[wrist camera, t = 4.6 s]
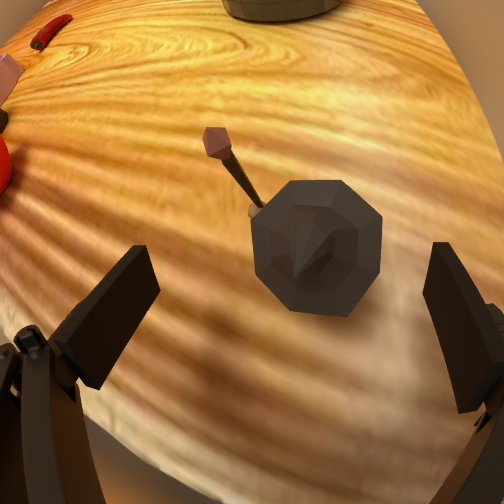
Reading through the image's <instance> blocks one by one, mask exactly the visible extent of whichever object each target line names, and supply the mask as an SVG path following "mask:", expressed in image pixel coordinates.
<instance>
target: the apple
mask: <svg viewBox="0 0 504 504" xmlns="http://www.w3.org/2000/svg"><path fill="white" fill-rule="evenodd" d="M11 176H12V162H11V159H10V155H9V152H8V149H7V146H6V144H5V142H4V140H3V138H2V136H1V133H0V194H1V193H2V192H3V191H4V190H5V188H6V187H7V185H8V183H9V181H10V179H11Z"/></svg>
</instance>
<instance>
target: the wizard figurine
mask: <svg viewBox="0 0 504 504" xmlns="http://www.w3.org/2000/svg"><path fill="white" fill-rule="evenodd" d="M203 142H204V146H205V149H206V153H207V156H209V157H213V158H217V159H221V160H222V163H223V165H224V166H225V167H226V169H227V170H228V171H229V172H230V174H231V175H232V176H233V177H234V178H235V180H236V181H237V182H238V183H239V185H240V186H241V187H242V188H243V190H244V191H245V192H246V193H247V195H248V196H249V197H250V198H251V200H252V201H253V203H252V204H251V205H250V206H249V211H248V216H249V217H250V218H251V220H250V221H251V231H252V242H253V252H254V263H255V273H256V276H257V277H258V278H259V279H260V280H261V281H262V282H263V283H264V284H265V285H266V286H267V287H268V288H269V289H270V290H271V292H272V293H273V294H274V295H275V296H276V297H277V298H278V299H279V300H280V301H281V302H282V303H283V304H284V305H285V306H286V307H287V308H288V309H289V310H290V311H294V312H303V313H312V314H321V315H331V316H341V317H347V316H348V315H349V314H350V312H351V311H352V310H353V309H354V307H355V306H356V305H357V303H358V302H359V301H360V299H361V298H362V296H363V295H364V294H365V292H366V291H367V290H368V288H369V287H370V285H371V284H372V283H373V281H374V280H375V278H376V277H377V276H378V274H379V273H380V259H381V242H382V216H381V215H380V214H379V213H378V212H377V211H376V210H375V209H374V208H372V207H371V206H370V205H369V204H368V203H367V202H366V201H365V200H364V199H362V198H361V197H360V196H359V195H358V194H357V193H356V192H355V191H353V190H352V189H351V188H350V187H349V186H348V185H346V184H345V183H344V182H343V181H342V180H297V181H289V182H288V183H287V184H286V185H285V186H284V187H283V188H282V189H281V190H280V191H279V192H278V193H277V194H276V195H275V196H274V197H273V198H272V199H271V200H270V201H269V202H268V203H267V204H266V203H265V202H263V201H261V200H260V198H259V196H258V194H257V193H256V191H255V189H254V188H253V186H252V184H251V182H250V181H249V179H248V177H247V176H246V174H245V172H244V170H243V169H242V167H241V165H240V164H239V162H238V160H237V159H236V157H235V155H234V154H233V152H232V150H231V142H230V139H229V137H228V134H227V132H226V129H225V128H218V127H206V130H205V133H204V136H203Z"/></svg>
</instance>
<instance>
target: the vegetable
mask: <svg viewBox="0 0 504 504" xmlns="http://www.w3.org/2000/svg"><path fill="white" fill-rule="evenodd" d="M71 19H72V15H68V14H65V15H61V16H59V17H57V18H55V19H53V20H52V21H51V22H49V23H48V24H47V25H46V26H45V27H44V28H42V29H41V30H40V31H39V32H38V33H37V35H36V36H35V37H34V38H33V39H32V41H31V43H30V46H31V48H32V49H35V50H41V49H43V48H44V47H45V45H46V44H47V42H48V41H49V40H50V39H51V38H52V36H53V35H54V34H55V32H56V31H57V30H58V29H60V28H61V27H62V26H64V25H65V24H67V23H68V22H69V21H70V20H71Z"/></svg>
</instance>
